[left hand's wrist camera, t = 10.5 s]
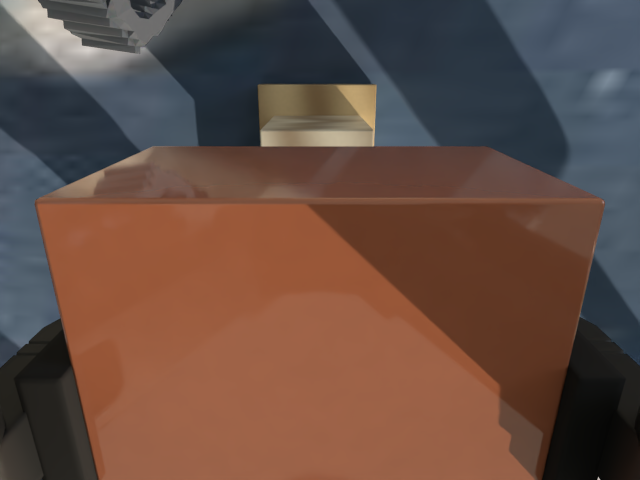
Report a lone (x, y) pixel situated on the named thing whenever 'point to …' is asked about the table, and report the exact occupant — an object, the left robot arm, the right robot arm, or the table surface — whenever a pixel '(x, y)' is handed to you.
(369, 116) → the beige stand
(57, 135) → the table surface
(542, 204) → the cap block
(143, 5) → the toy
